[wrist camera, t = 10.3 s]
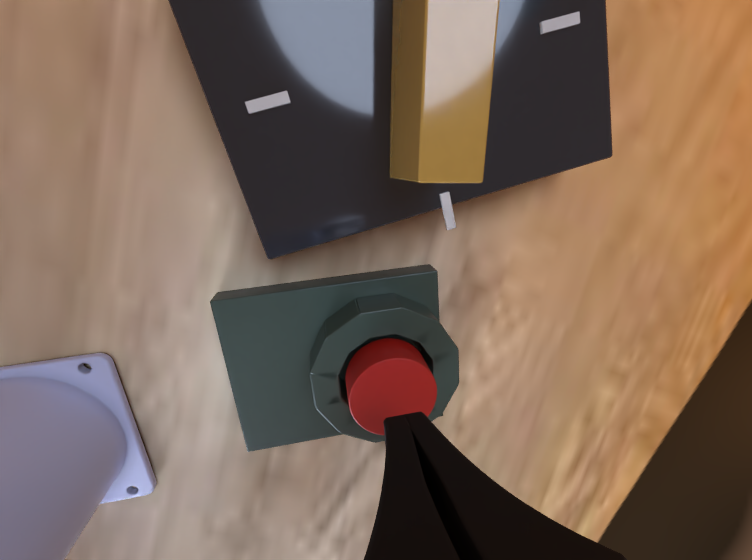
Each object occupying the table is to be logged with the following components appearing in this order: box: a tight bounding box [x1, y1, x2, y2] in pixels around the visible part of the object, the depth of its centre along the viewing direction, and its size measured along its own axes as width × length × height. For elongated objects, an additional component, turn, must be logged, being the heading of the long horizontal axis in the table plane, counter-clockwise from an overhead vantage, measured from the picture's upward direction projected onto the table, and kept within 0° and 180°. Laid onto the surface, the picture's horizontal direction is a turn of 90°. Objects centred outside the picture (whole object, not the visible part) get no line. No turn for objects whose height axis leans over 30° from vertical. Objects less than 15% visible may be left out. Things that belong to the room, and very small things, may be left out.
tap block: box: [168, 0, 612, 259], centre depth 14 cm, size 14×12×3 cm
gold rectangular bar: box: [390, 0, 500, 183], centre depth 10 cm, size 8×2×4 cm, turn 0°
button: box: [345, 338, 437, 435], centre depth 15 cm, size 4×4×2 cm
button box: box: [210, 264, 459, 452], centre depth 17 cm, size 10×8×3 cm
